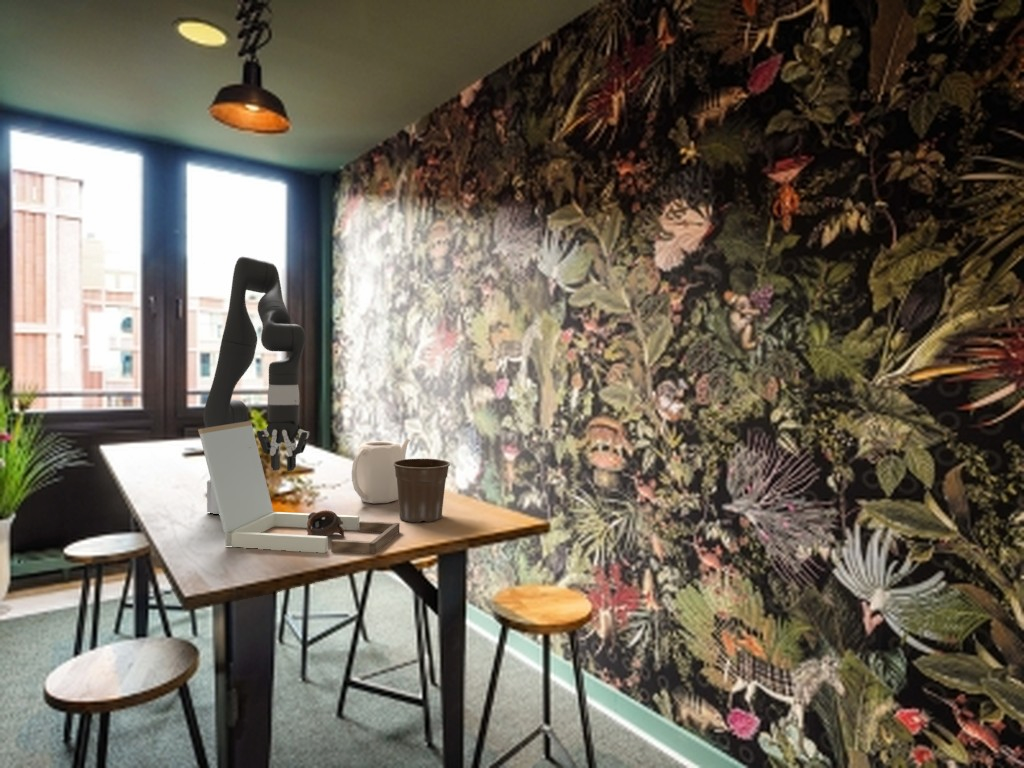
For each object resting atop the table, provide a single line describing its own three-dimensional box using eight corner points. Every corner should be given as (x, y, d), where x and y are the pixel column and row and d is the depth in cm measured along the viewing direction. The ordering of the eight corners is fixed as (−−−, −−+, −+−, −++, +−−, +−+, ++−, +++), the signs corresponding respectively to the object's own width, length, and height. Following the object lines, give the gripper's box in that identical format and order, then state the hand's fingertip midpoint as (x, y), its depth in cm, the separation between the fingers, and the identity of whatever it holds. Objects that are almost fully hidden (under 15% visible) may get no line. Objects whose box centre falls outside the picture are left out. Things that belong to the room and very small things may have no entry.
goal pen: (331, 551, 142) (331, 541, 141) (361, 530, 160) (361, 521, 160) (374, 553, 140) (374, 543, 140) (399, 532, 158) (399, 522, 158)
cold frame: (198, 545, 145) (197, 428, 144) (247, 523, 165) (247, 420, 165) (324, 552, 140) (325, 432, 139) (359, 528, 161) (359, 423, 160)
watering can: (426, 495, 204) (427, 440, 203) (371, 511, 181) (371, 448, 180) (391, 490, 212) (392, 436, 211) (334, 504, 188) (334, 444, 188)
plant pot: (458, 514, 179) (459, 460, 178) (433, 527, 163) (434, 468, 163) (410, 509, 184) (411, 456, 184) (382, 521, 169) (382, 464, 168)
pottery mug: (354, 539, 154) (348, 515, 149) (325, 563, 148) (317, 539, 143) (325, 520, 160) (318, 497, 156) (295, 542, 154) (287, 519, 150)
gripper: (249, 403, 149) (249, 471, 150) (302, 404, 147) (302, 474, 148) (265, 401, 156) (265, 466, 157) (316, 402, 155) (316, 468, 155)
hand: (283, 469), depth 152 cm, fingers open, 3 cm apart
